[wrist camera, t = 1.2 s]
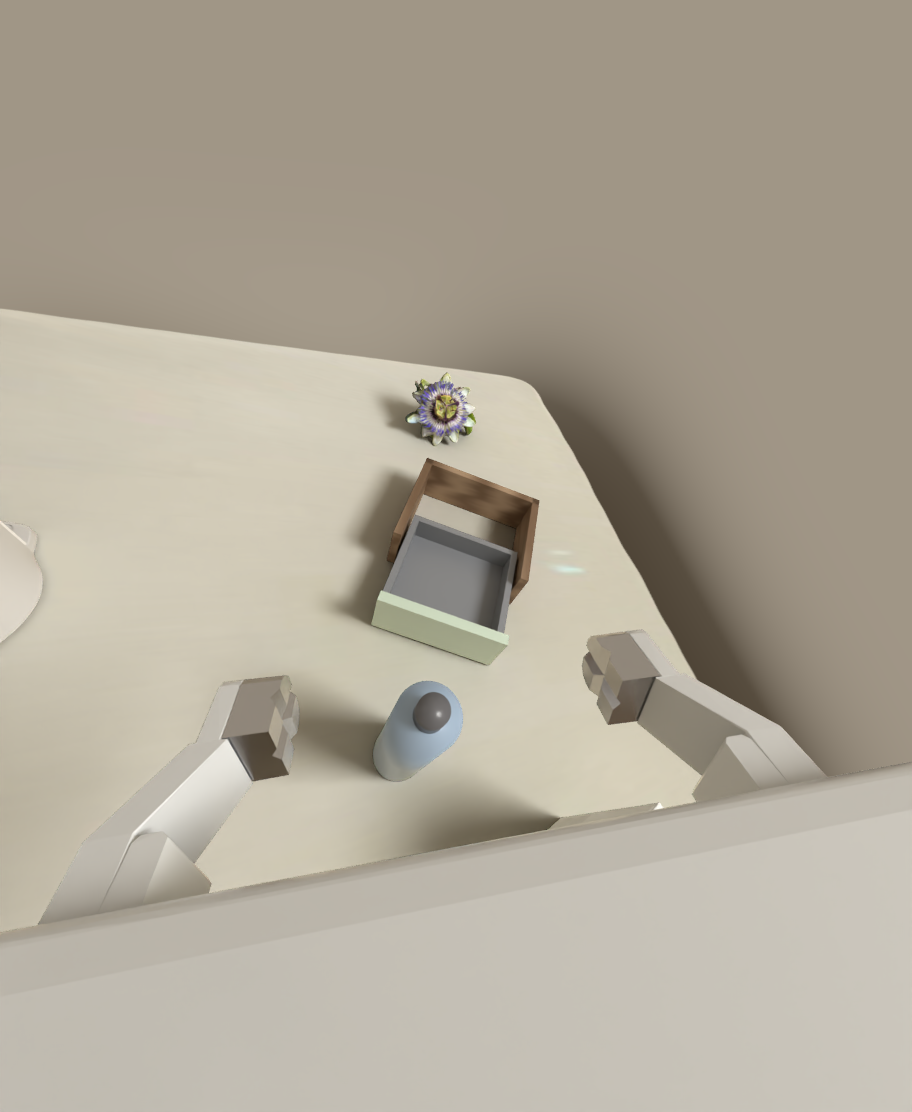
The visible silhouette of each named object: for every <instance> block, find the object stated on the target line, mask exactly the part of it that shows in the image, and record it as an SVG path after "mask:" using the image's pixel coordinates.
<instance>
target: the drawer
mask: <svg viewBox="0 0 912 1112" xmlns="http://www.w3.org/2000/svg"><path fill="white" fill-rule="evenodd" d="M517 553H518V552H515V551H512V550H510V549H507V548H504V547H501V546H499V545H496V544H493V543H491V542H488V541H485V540H482V539H480V538H477V537H474V536H472V535H469V534H466V533H464V532H461V531H458V530H455V529H453V528H450V527H447V526H445V525H442V524H439V523H436V522H434V521H431V520H428V519H426V518H423V517H420V516H417V515H415V516H414V518H413V520H412V523H411V525H410V528H409V530H408V532H407V535H406V537H405V539H404V542H403V544H402V546H401V549H400V551H399V553H398V556H397V558H396V561H395V563H394V565H393V568H392V570H391V572H390V575H389V577H388V579H387V582H386V584H385V586H384V589H383V591H382V590H381V592H380V594H379V596H378V599H377V602H376V607H375V611H374V615H373V619H372V624H371V625H373V626H376V627H379V628H382V629H385V630H388V631H390V632H393V633H396V634H399V635H402V636H405V637H408V638H411V639H414V640H417V641H419V642H422V643H425V644H428V645H431V646H434V647H437V648H440V649H443V650H446V651H448V652H451V653H454V654H457V655H460V656H463V657H466V658H469V659H472V660H475V661H477V662H480V663H483V664H486V665H490V664H491V663H492V662H493V661H494V659H495V658H496V657H497V656H498V655H499V654H500V653H501V652H502V651H503V650H504V649H505V648H506V647H507V645H508V640H509V635H507V634H504V630H505V624H506V618H507V612H508V606H509V600H510V595H511V589H512V583H513V577H514V571H515V565H516V559H517Z"/></svg>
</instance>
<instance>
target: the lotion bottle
mask: <svg viewBox="0 0 912 1112" xmlns="http://www.w3.org/2000/svg"><path fill="white" fill-rule="evenodd" d="M462 724H463V714H462V708H461V705H460V703H459V701H458V699H457V697H456V696H455V695H454V693H453V692H452V691H451V690H450V689H449V688H447V687H446V686H444V685H442V684H440V683H437V682H433V681H422V682H418V683H415V684H413V685H411V686H410V687H408V688H407V689H406V690H405V691H404V692H403V693H402V694H401V696H400V697H399V699H398V701H397V703H396V705H395V707H394V708H393V710H392V712H391V714H390V716H389V718H388V720H387V722H386V724H385V725H384V727H383V729H382V731H381V733H380V735H379V737H378V739H377V740H376V743H375V745H374V749H373V761H374V764H375V767H376V769H377V771H378V772H379V773H380V774H381V775H382V776H383V777H384V778H386V779H387V780H390V781H394V782H400V781H404V780H407V779H409V778H411V777H412V776H413V775H415V774H416V773H417V772H418V771H420V770H421V769H422V768H424V767H425V766H426V765H428V764H429V763H430V762H431V761H433V760H434V759H435V758H437V757H438V756H439V755H440V754H442V753H443V752H444V751H446V750H447V749H448V748H449V747H451V746H452V745H453V744H454V743H455V741H456V740H457V738H458V737H459V734H460V732H461V729H462Z"/></svg>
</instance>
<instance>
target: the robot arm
mask: <svg viewBox="0 0 912 1112" xmlns="http://www.w3.org/2000/svg"><path fill="white" fill-rule="evenodd" d="M36 543H37V534H36V533H35V531H33V530H32V529H31V528H30V527H28V526H26V525H23V524H18V523H12V522H6V521H0V642H1V641H3V640H4V639H5V638H7V637H8V636H9V635H10V634H12V633H13V632H14V631H15V630H16V629H17V628H18V627H19V626H20V625H21V624H22V623H23V622H24V621H25V620H26V619H27V617H28V616H29V615H30V614H31V612H32V611H33V609H34V608H35V606H36V604H37V602H38V600H39V598H40V595H41V592H42V587H43V577H42V572H41V569H40V567H39V565H38V563H37V561H36V559H35V556H34V551H35V547H36ZM586 646H587V648H588V650H589V652H588V653H587V654H586V655H585V656H584V658H583V663H582V670H583V676H584V679H585V682H586V684H587V686H588V688H589V690H590V691H592V692H593V693H594V694H596V695H597V696H598V700H597V706H598V707H599V709H600V711H601V713H602V715H603V717H604V719H605V721H606V722H607V724H608V725H611V724H619V723H627V722H635V721H638V722H637V723H638V724H639V725H641V726H642V727H643V728H644V729H646V730H647V731H648V732H649V733H650V734H652V735H653V736H654V737H655V738H656V739H658V740H659V741H660V742H661V743H663V744H664V745H665V746H666V747H667V748H669V749H670V750H671V751H672V752H674V753H675V754H676V755H677V756H678V757H680V758H681V759H682V760H683V761H685V762H686V763H687V764H688V765H689V766H691V767H692V768H693V769H694V770H696V771H697V772H698V773H699V774H700V775H702V777H701V778H700V780H699V781H698V783H697V785H696V786H695V788H694V790H693V793H692V795H693V797H694V798H695V800H696V802H693V803H688V804H683V805H677V806H672V807H667V808H661V809H656V810H651V811H645V812H640V813H635V814H629V815H624V816H619V817H613V818H608V819H602V820H597V821H592V822H586V823H581V824H576V825H570V826H565V827H560V828H554V829H549V830H544V831H538V832H533V833H527V834H522V835H517V836H511V837H506V838H501V839H495V840H490V841H485V842H479V843H474V844H469V845H463V846H458V847H453V848H447V849H442V850H436V851H431V852H426V853H420V854H415V855H410V856H404V857H399V858H394V859H388V860H383V861H378V862H372V863H367V864H362V865H356V866H351V867H346V868H340V869H335V870H330V871H324V872H319V873H314V874H308V875H303V876H298V877H292V878H287V879H282V880H276V881H271V882H266V883H260V884H255V885H250V886H244V887H239V888H234V889H228V890H223V891H218V892H212V893H209V891H210V887H211V882H210V880H209V879H208V877H207V876H206V875H205V874H204V873H203V872H202V871H201V870H200V869H199V868H198V867H197V866H196V865H195V864H194V863H195V862H196V860H197V859H198V858H199V856H200V855H201V854H202V852H203V851H204V850H205V848H206V847H207V846H208V844H209V843H210V841H211V840H212V839H213V837H214V836H215V835H216V833H217V832H218V831H219V829H220V828H221V826H222V825H223V824H224V822H225V821H226V820H227V818H228V817H229V816H230V814H231V813H232V812H233V810H234V809H235V807H236V806H237V805H238V803H239V802H240V801H241V799H242V798H243V797H244V795H245V794H246V792H247V791H248V790H249V788H250V787H251V786H252V784H253V781H258V780H264V779H269V778H274V777H280V776H285V775H289V772H290V767H291V762H292V757H293V752H294V747H293V745H292V742H291V739H292V738H293V737H294V735H295V734H296V733H297V731H298V726H299V704H298V700H297V697H296V695H294V694H293V693H291V692H290V690H291V685H292V684H291V681H290V679H289V677H288V676H275V677H265V678H255V679H246V680H238V681H229V682H223V684H222V685H221V686H220V687H219V688H218V690H217V693H216V695H215V697H214V700H213V702H212V705H211V707H210V709H209V712H208V714H207V717H206V719H205V721H204V724H203V726H202V729H201V731H200V733H199V736H198V738H197V741H196V743H193V744H188V745H187V746H186V747H185V748H184V749H183V750H182V751H181V752H180V753H179V754H178V755H177V756H176V757H174V758H173V759H172V760H171V761H170V762H169V763H168V764H167V765H166V766H165V767H164V768H163V769H161V770H160V771H159V772H158V773H157V774H156V775H155V776H154V777H153V778H152V779H151V780H150V781H149V782H147V783H146V784H145V785H144V786H143V787H142V788H141V789H140V790H139V791H138V792H137V793H136V794H135V795H133V796H132V797H131V798H130V799H129V800H128V801H127V802H126V803H125V804H124V805H123V806H122V807H120V808H119V809H118V810H117V811H116V812H115V813H114V814H113V815H112V816H111V817H110V818H109V819H108V820H106V821H105V822H104V823H103V824H102V825H101V826H100V827H99V828H98V829H97V830H96V831H95V832H94V833H92V834H91V835H90V836H89V837H88V838H87V839H86V840H85V841H84V842H83V843H82V845H81V847H80V849H79V850H78V852H77V854H76V856H75V858H74V860H73V861H72V863H71V865H70V867H69V869H68V870H67V872H66V874H65V876H64V878H63V880H62V881H61V883H60V885H59V887H58V889H57V891H56V892H55V894H54V896H53V898H52V900H51V902H50V903H49V905H48V907H47V909H46V911H45V912H44V914H43V916H42V918H41V920H40V922H39V923H38V925H36V926H31V927H25V928H20V929H15V930H9V931H4V932H0V1112H912V762H908V763H903V764H897V765H891V766H886V767H881V768H876V769H870V770H864V771H859V772H854V773H848V774H843V775H838V776H833V777H827V776H826V775H825V774H824V773H823V772H822V771H821V770H820V769H819V767H818V766H817V765H816V764H815V763H814V762H813V761H812V760H811V759H810V758H809V757H808V755H807V754H806V753H805V752H804V751H803V750H802V749H801V748H800V747H799V746H798V745H797V744H796V742H795V741H794V740H793V739H792V738H791V737H790V736H789V735H788V734H787V733H786V732H785V730H784V729H783V728H782V727H781V726H779V725H777V724H775V723H773V722H772V721H770V720H768V719H766V718H764V717H762V716H761V715H759V714H757V713H755V712H753V711H752V710H750V709H748V708H746V707H744V706H743V705H741V704H739V703H737V702H735V701H734V700H732V699H730V698H728V697H726V696H725V695H723V694H721V693H719V692H717V691H716V690H714V689H712V688H710V687H708V686H707V685H705V684H703V683H701V682H699V681H698V680H696V679H694V678H692V677H690V676H689V675H687V674H685V673H682V674H679V673H678V671H677V670H676V669H675V668H674V666H673V665H672V664H671V663H670V661H669V660H668V659H667V657H666V656H665V655H664V654H663V652H662V651H661V650H660V649H659V647H658V646H657V645H656V644H655V642H654V641H653V640H652V639H651V637H650V636H649V635H648V633H647V632H646V631H644V630H642V629H641V630H633V631H626V632H617V633H610V634H603V635H595V636H591V637H590V638H589V639H588V642H587V645H586Z"/></svg>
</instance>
